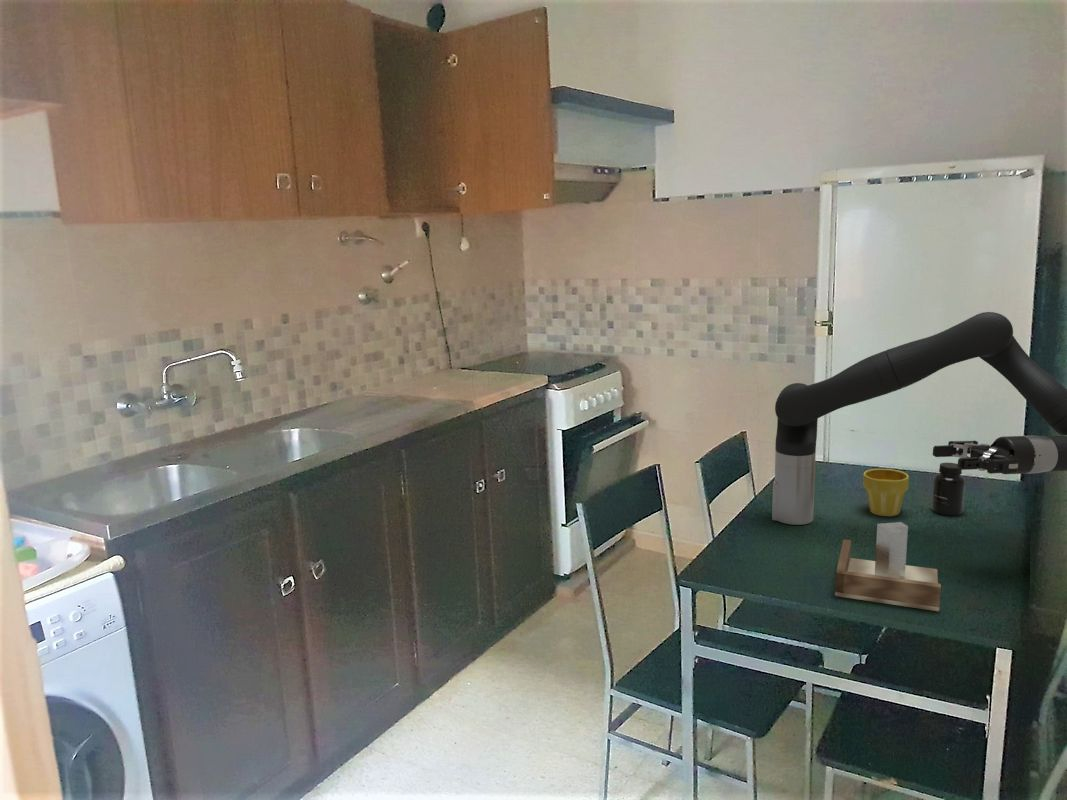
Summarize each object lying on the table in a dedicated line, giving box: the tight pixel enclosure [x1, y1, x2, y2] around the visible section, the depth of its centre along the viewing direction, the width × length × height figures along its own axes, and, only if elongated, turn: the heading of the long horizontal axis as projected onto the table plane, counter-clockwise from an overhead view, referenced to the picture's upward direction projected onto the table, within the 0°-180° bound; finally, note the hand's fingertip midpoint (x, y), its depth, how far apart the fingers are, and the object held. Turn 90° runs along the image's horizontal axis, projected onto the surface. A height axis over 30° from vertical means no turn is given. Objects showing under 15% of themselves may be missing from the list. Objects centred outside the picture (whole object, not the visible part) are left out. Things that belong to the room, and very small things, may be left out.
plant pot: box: [862, 468, 910, 517], centre depth 196 cm, size 10×10×10 cm
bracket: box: [874, 521, 909, 579], centre depth 157 cm, size 5×5×11 cm
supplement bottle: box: [931, 462, 966, 517], centre depth 194 cm, size 7×7×12 cm
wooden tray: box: [834, 538, 942, 612], centre depth 158 cm, size 18×18×5 cm
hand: (946, 457), depth 157 cm, fingers open, 8 cm apart
